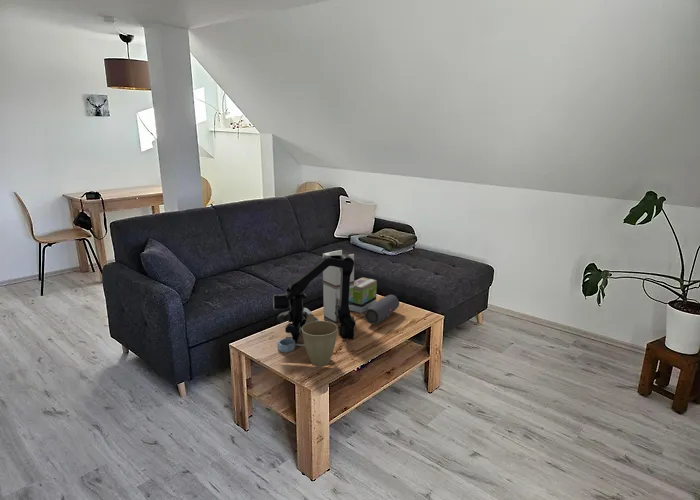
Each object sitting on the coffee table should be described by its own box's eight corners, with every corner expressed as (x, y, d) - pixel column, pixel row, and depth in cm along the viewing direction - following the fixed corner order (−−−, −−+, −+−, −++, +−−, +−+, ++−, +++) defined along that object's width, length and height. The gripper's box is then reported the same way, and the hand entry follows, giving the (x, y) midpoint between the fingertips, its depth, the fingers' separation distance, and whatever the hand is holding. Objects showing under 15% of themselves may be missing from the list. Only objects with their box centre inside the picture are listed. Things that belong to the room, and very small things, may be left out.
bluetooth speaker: (379, 328, 230) (380, 309, 228) (363, 324, 235) (363, 305, 232) (400, 313, 249) (400, 295, 246) (384, 309, 254) (384, 292, 251)
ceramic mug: (302, 328, 230) (302, 314, 228) (295, 322, 237) (295, 308, 235) (321, 324, 235) (321, 310, 233) (314, 319, 242) (314, 305, 240)
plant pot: (345, 361, 199) (345, 327, 194) (320, 375, 188) (319, 339, 184) (320, 350, 208) (319, 317, 204) (295, 363, 197) (294, 328, 193)
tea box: (362, 313, 248) (362, 287, 244) (346, 309, 253) (346, 284, 250) (376, 304, 260) (377, 279, 256) (361, 301, 266) (361, 276, 262)
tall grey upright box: (336, 325, 233) (335, 258, 224) (323, 319, 242) (322, 253, 232) (354, 320, 240) (354, 254, 231) (341, 313, 248) (341, 249, 239)
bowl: (296, 346, 212) (296, 338, 211) (292, 354, 205) (292, 346, 204) (280, 346, 213) (280, 337, 212) (276, 353, 206) (276, 345, 205)
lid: (308, 337, 218) (308, 330, 217) (305, 344, 212) (305, 336, 211) (289, 336, 219) (289, 329, 218) (286, 343, 213) (285, 335, 212)
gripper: (284, 299, 221) (285, 329, 225) (273, 314, 204) (274, 347, 208) (307, 300, 220) (308, 330, 224) (298, 315, 202) (299, 348, 206)
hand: (297, 339), depth 216 cm, fingers closed on lid, 6 cm apart
